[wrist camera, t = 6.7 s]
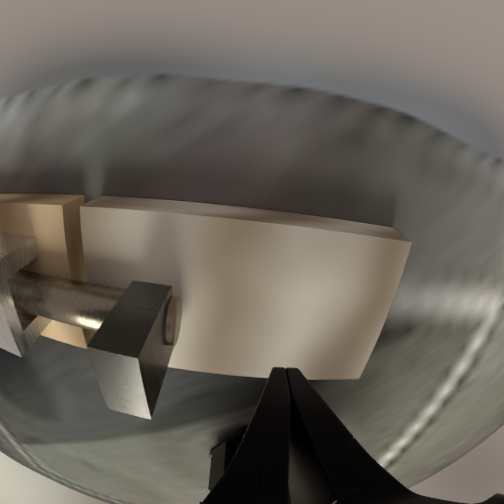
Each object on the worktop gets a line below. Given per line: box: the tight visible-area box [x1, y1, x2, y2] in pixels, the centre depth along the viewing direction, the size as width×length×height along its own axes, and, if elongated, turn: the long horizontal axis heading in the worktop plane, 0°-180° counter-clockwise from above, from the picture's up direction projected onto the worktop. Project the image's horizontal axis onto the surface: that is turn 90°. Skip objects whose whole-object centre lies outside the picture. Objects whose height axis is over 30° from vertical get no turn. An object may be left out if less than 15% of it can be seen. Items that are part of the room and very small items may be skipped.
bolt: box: [7, 269, 182, 419], centre depth 9 cm, size 10×3×5 cm, turn 83°
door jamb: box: [0, 194, 412, 380], centre depth 13 cm, size 24×8×2 cm, turn 83°
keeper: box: [0, 232, 52, 357], centre depth 10 cm, size 3×5×3 cm, turn 174°
